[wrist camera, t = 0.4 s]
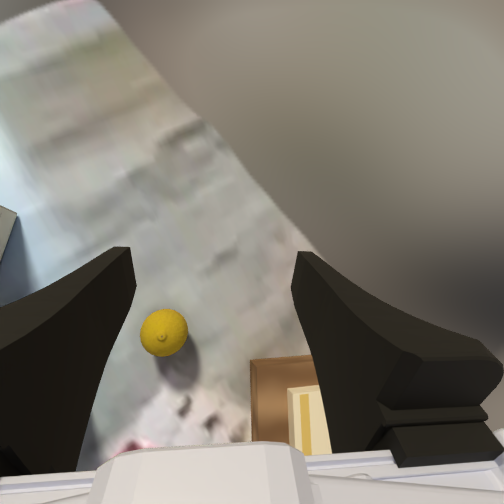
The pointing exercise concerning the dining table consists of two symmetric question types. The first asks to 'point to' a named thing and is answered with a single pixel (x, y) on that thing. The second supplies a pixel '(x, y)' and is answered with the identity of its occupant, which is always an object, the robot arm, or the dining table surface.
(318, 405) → the cream rectangular block
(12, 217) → the tea box
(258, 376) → the brown wooden flat block
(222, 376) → the dining table surface
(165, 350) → the lemon
